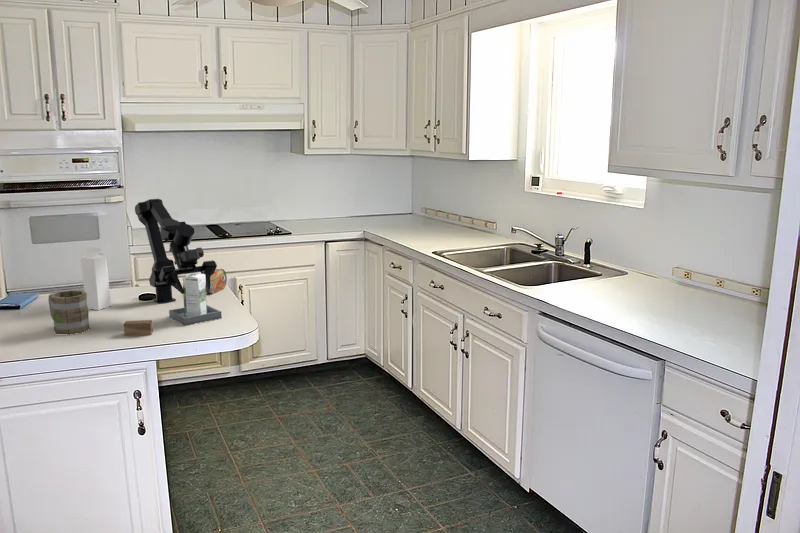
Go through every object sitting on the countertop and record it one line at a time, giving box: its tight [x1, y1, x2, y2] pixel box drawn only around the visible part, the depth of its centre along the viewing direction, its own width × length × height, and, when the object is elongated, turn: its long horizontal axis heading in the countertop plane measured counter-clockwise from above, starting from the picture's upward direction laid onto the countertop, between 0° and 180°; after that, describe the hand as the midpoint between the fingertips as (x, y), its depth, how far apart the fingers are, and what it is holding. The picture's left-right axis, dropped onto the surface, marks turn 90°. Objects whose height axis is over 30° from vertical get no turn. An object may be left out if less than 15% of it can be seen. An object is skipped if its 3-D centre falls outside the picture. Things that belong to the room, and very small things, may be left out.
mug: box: [48, 289, 91, 336], centre depth 218 cm, size 16×11×12 cm
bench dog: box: [123, 319, 154, 337], centre depth 214 cm, size 3×8×4 cm, turn 98°
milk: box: [80, 246, 112, 311], centre depth 242 cm, size 6×6×22 cm
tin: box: [206, 268, 228, 295], centre depth 268 cm, size 15×3×8 cm, turn 167°
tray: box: [168, 304, 223, 326], centre depth 232 cm, size 13×13×2 cm
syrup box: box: [182, 272, 208, 318], centre depth 230 cm, size 6×6×14 cm
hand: (196, 291), depth 229 cm, fingers open, 9 cm apart
